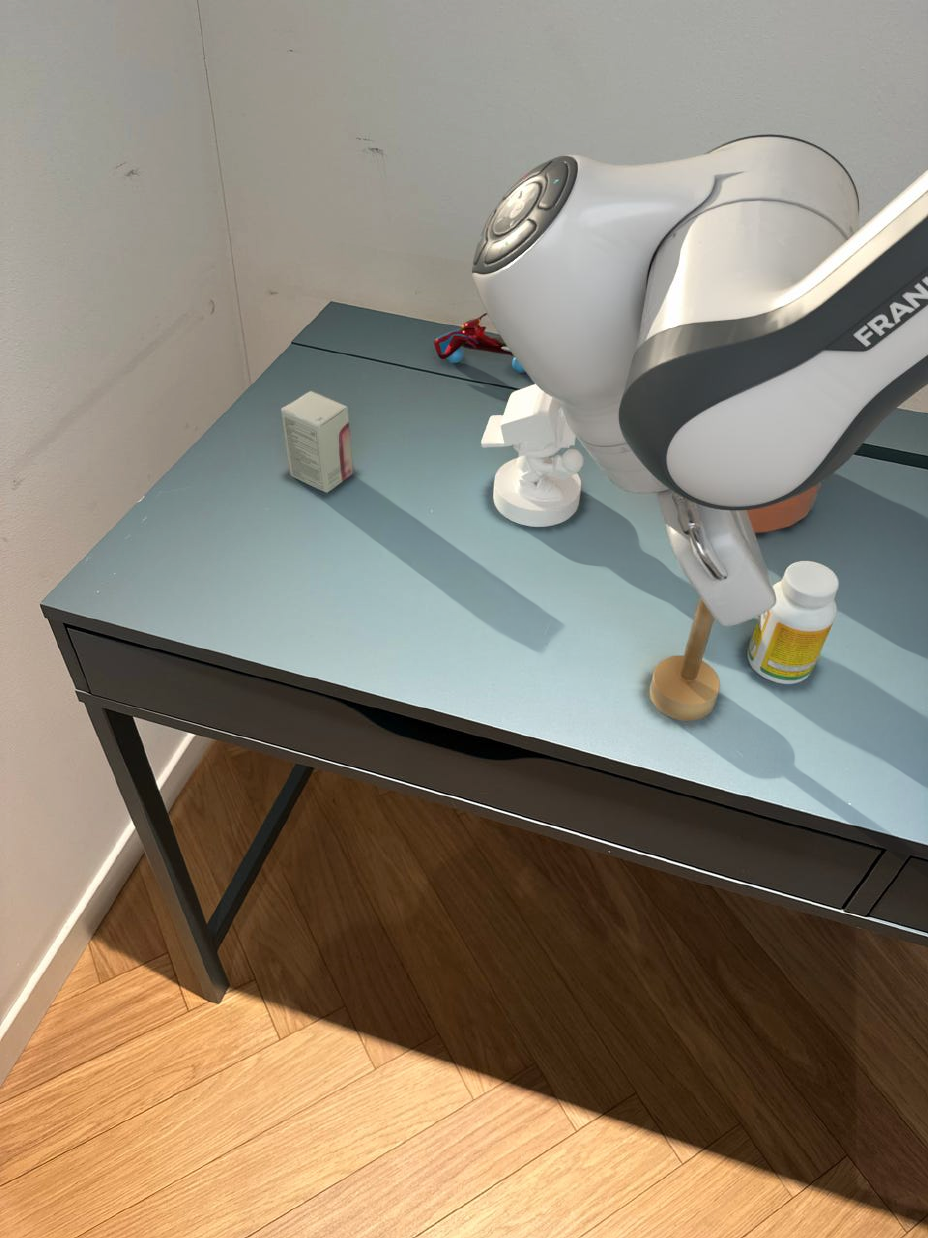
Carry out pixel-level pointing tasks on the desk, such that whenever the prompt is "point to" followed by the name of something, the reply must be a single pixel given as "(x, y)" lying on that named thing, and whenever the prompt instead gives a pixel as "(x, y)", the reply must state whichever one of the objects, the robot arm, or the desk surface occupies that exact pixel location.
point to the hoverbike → (471, 343)
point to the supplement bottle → (795, 624)
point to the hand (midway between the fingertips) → (742, 545)
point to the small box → (318, 441)
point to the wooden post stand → (687, 676)
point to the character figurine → (535, 460)
